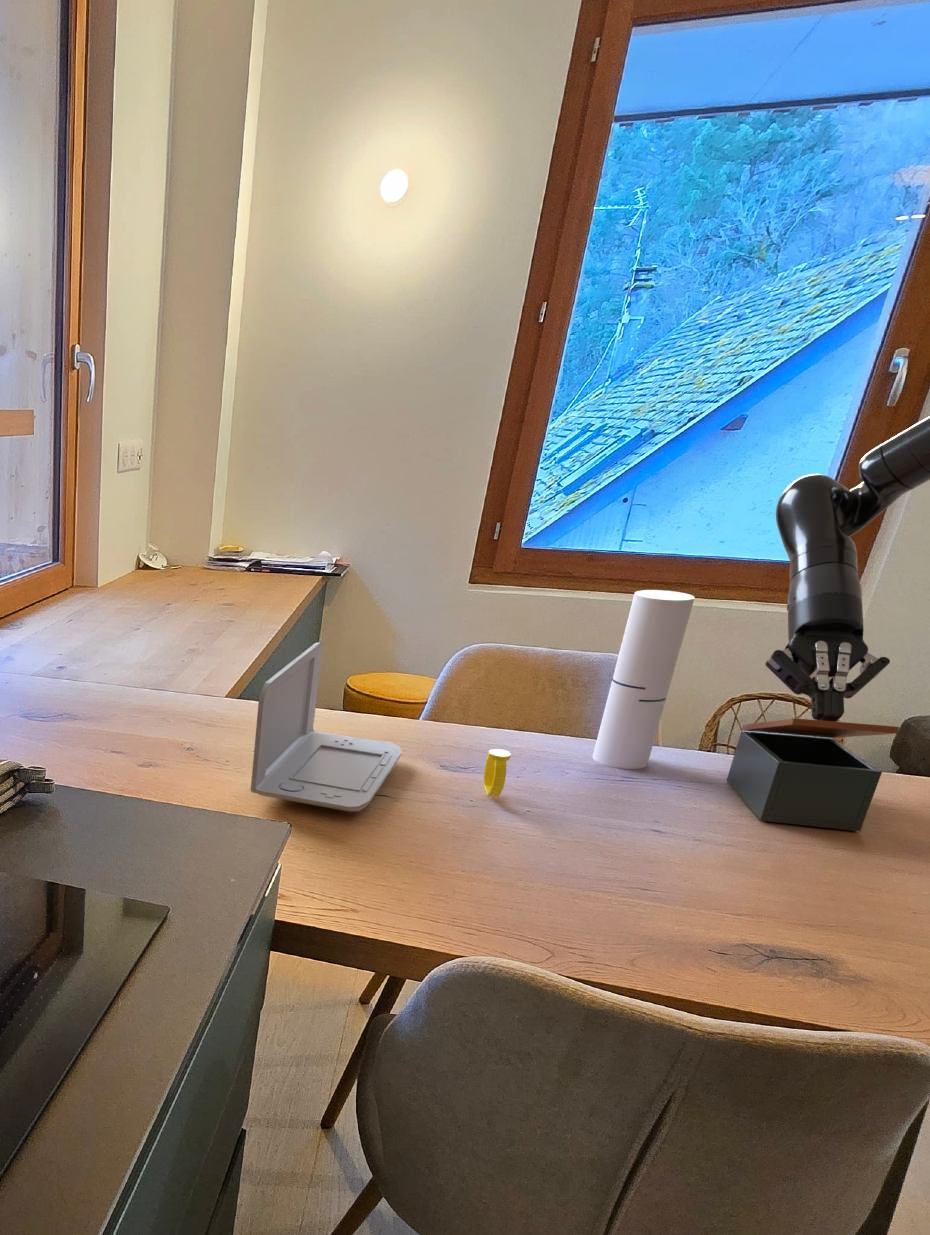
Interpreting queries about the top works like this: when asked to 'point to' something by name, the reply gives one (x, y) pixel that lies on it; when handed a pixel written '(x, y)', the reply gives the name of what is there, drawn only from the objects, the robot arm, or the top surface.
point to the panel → (820, 728)
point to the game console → (312, 746)
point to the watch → (495, 771)
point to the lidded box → (802, 780)
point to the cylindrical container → (642, 677)
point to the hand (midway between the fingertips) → (828, 721)
